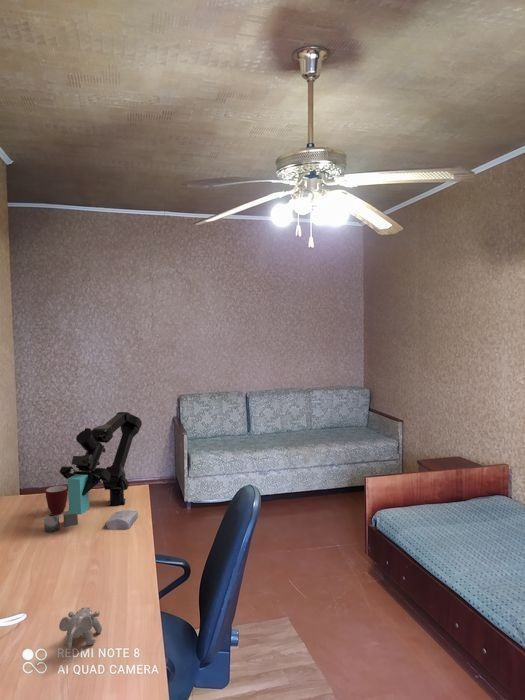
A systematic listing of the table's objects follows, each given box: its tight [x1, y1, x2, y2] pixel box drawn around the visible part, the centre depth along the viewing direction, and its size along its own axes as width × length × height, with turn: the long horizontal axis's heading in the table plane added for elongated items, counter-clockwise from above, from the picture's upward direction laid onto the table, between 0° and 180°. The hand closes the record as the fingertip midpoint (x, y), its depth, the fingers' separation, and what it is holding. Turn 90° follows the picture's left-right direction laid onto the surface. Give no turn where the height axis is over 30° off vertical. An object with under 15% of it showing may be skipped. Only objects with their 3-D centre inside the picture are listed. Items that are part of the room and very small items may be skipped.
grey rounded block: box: [43, 513, 60, 534], centre depth 182 cm, size 5×5×5 cm
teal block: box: [67, 474, 90, 515], centre depth 182 cm, size 5×5×13 cm
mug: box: [45, 485, 68, 516], centre depth 199 cm, size 10×8×10 cm
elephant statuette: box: [58, 606, 103, 650], centre depth 116 cm, size 9×12×8 cm
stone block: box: [105, 509, 139, 531], centre depth 187 cm, size 12×5×10 cm
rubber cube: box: [62, 510, 79, 528], centre depth 188 cm, size 4×4×4 cm
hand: (76, 494), depth 181 cm, fingers closed on teal block, 5 cm apart
